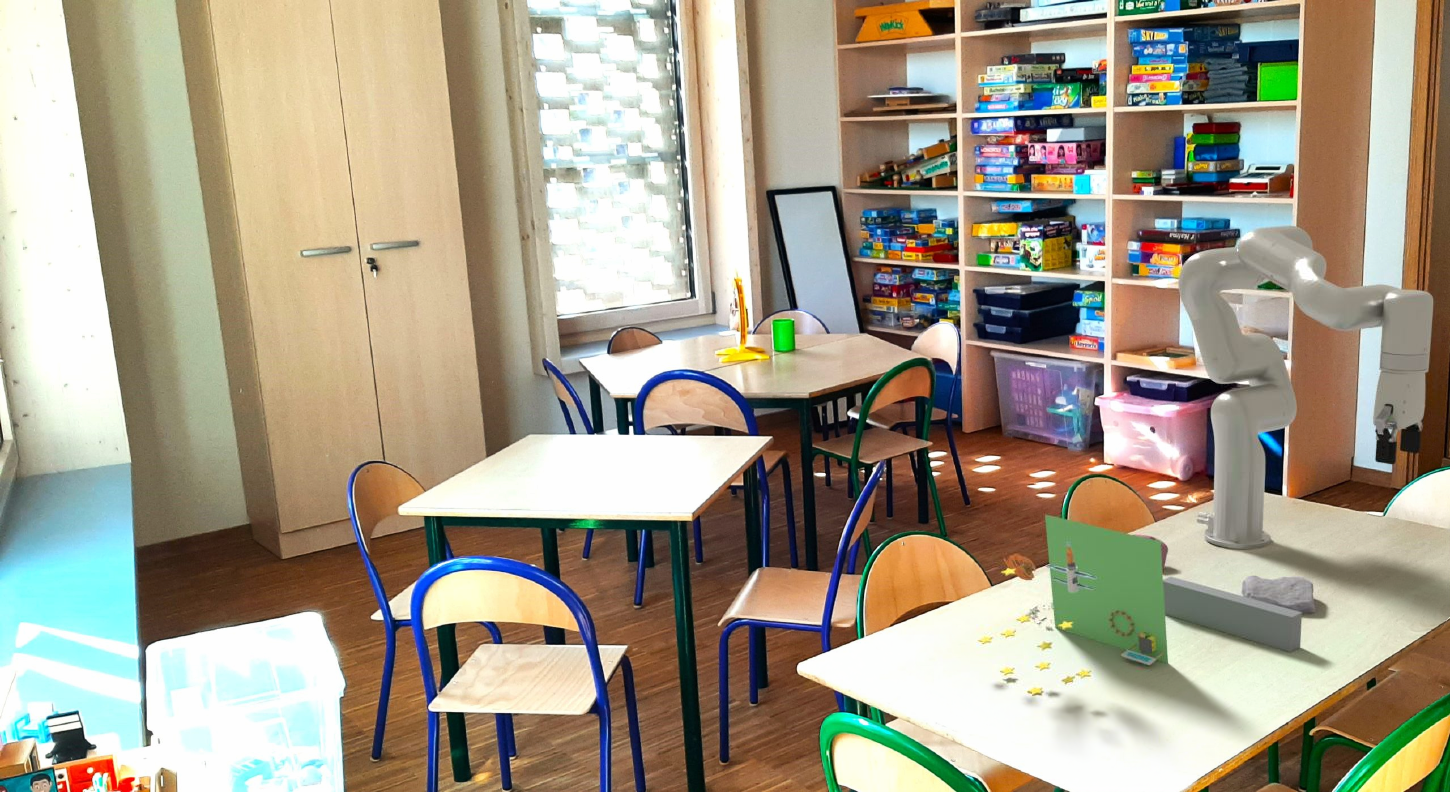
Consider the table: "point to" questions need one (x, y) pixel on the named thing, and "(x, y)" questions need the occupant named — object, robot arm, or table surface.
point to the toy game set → (1101, 590)
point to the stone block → (1281, 592)
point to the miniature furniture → (1038, 613)
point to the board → (1233, 614)
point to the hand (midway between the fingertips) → (1397, 457)
